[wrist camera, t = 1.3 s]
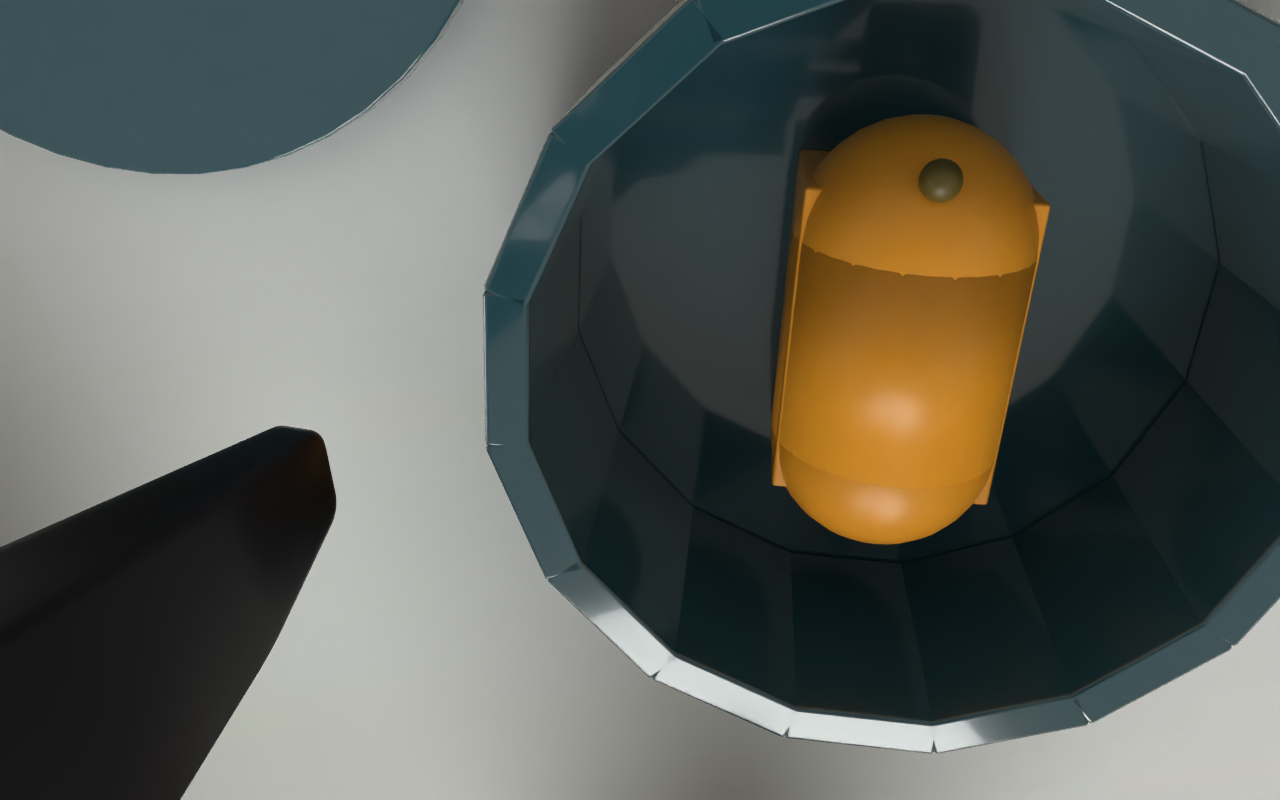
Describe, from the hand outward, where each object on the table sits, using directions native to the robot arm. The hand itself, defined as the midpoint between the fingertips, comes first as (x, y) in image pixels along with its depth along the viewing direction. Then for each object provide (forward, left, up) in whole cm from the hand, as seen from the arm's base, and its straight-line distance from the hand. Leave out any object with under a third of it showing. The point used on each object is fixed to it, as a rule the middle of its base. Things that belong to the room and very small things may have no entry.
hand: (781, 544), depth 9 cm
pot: (-2, -3, -14) cm, 15 cm away
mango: (-2, -3, -14) cm, 14 cm away
